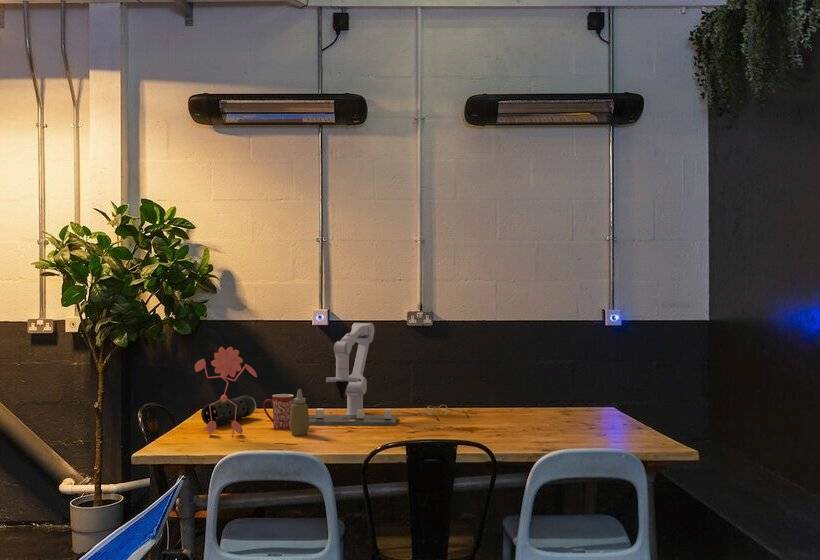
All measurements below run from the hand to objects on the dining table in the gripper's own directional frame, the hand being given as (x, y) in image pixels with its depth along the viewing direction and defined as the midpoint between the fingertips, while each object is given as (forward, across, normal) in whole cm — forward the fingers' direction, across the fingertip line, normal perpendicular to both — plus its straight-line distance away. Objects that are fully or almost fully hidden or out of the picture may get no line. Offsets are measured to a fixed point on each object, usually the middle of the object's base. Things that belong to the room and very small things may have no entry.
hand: (342, 398), depth 316 cm
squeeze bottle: (+10, -12, -36) cm, 39 cm away
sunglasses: (+10, +46, +8) cm, 48 cm away
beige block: (+8, -9, -6) cm, 13 cm away
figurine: (+10, -41, -37) cm, 56 cm away
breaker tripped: (+8, +9, -6) cm, 13 cm away
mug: (+10, -24, -21) cm, 33 cm away
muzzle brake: (+10, -48, -10) cm, 50 cm away
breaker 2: (+7, +21, -6) cm, 23 cm away
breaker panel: (+9, +4, -6) cm, 12 cm away
